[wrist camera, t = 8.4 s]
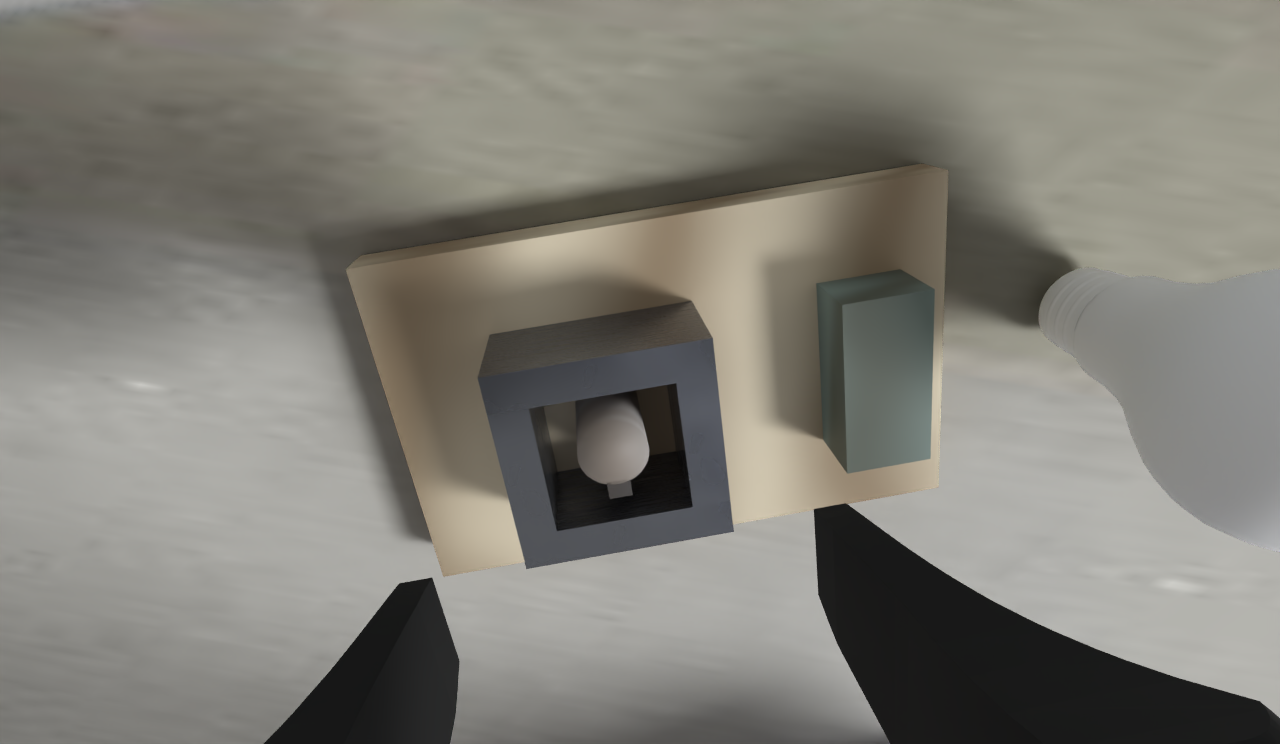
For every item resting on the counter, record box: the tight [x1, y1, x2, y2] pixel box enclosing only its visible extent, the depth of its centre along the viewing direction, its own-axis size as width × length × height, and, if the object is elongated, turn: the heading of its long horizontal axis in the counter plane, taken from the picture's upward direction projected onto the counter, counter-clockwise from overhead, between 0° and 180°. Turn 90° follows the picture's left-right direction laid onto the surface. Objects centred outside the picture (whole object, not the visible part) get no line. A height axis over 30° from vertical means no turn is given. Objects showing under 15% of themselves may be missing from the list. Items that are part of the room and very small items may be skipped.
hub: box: [478, 301, 734, 569], centre depth 19 cm, size 6×6×3 cm
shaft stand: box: [346, 164, 948, 577], centre depth 20 cm, size 16×10×4 cm, turn 98°
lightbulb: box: [1038, 267, 1280, 552], centre depth 17 cm, size 6×6×11 cm
